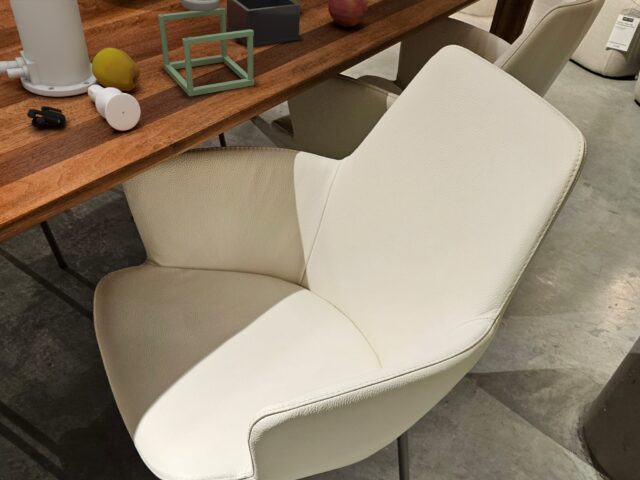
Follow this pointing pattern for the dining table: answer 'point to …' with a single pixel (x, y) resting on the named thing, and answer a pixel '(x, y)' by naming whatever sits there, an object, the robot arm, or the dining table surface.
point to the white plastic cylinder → (115, 106)
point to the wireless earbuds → (46, 117)
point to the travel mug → (201, 5)
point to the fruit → (347, 11)
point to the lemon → (115, 69)
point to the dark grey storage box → (265, 20)
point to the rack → (189, 63)
